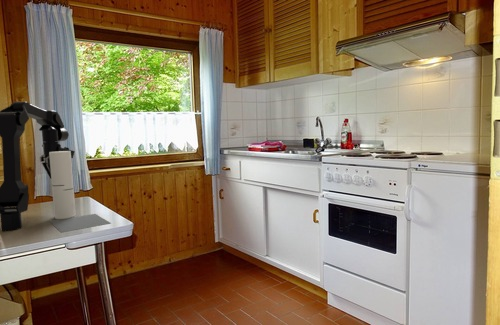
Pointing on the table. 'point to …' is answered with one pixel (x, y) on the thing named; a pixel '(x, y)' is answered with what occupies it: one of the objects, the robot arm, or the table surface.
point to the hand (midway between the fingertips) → (53, 179)
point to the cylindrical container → (62, 184)
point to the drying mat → (79, 222)
